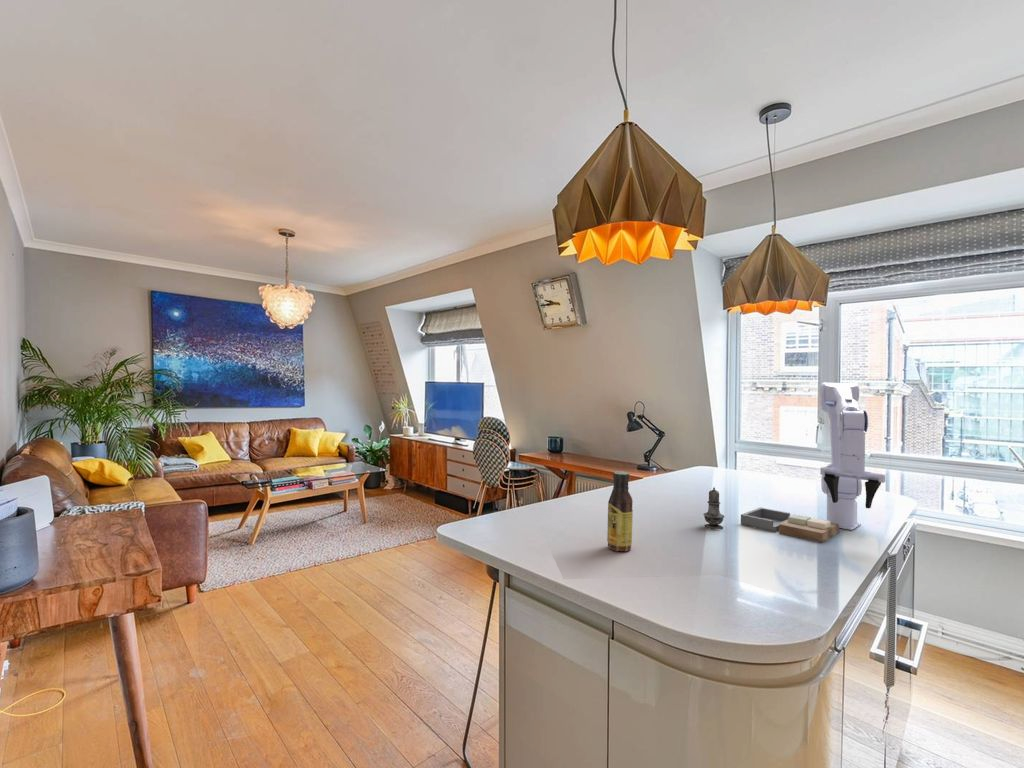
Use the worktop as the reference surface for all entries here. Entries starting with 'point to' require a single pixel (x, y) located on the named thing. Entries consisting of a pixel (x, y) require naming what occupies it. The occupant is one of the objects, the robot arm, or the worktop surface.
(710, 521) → the salt shaker
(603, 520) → the worktop surface
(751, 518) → the tray
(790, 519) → the sage tile
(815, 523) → the cream tile
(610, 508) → the sauce bottle
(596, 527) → the worktop surface
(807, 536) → the walnut board
